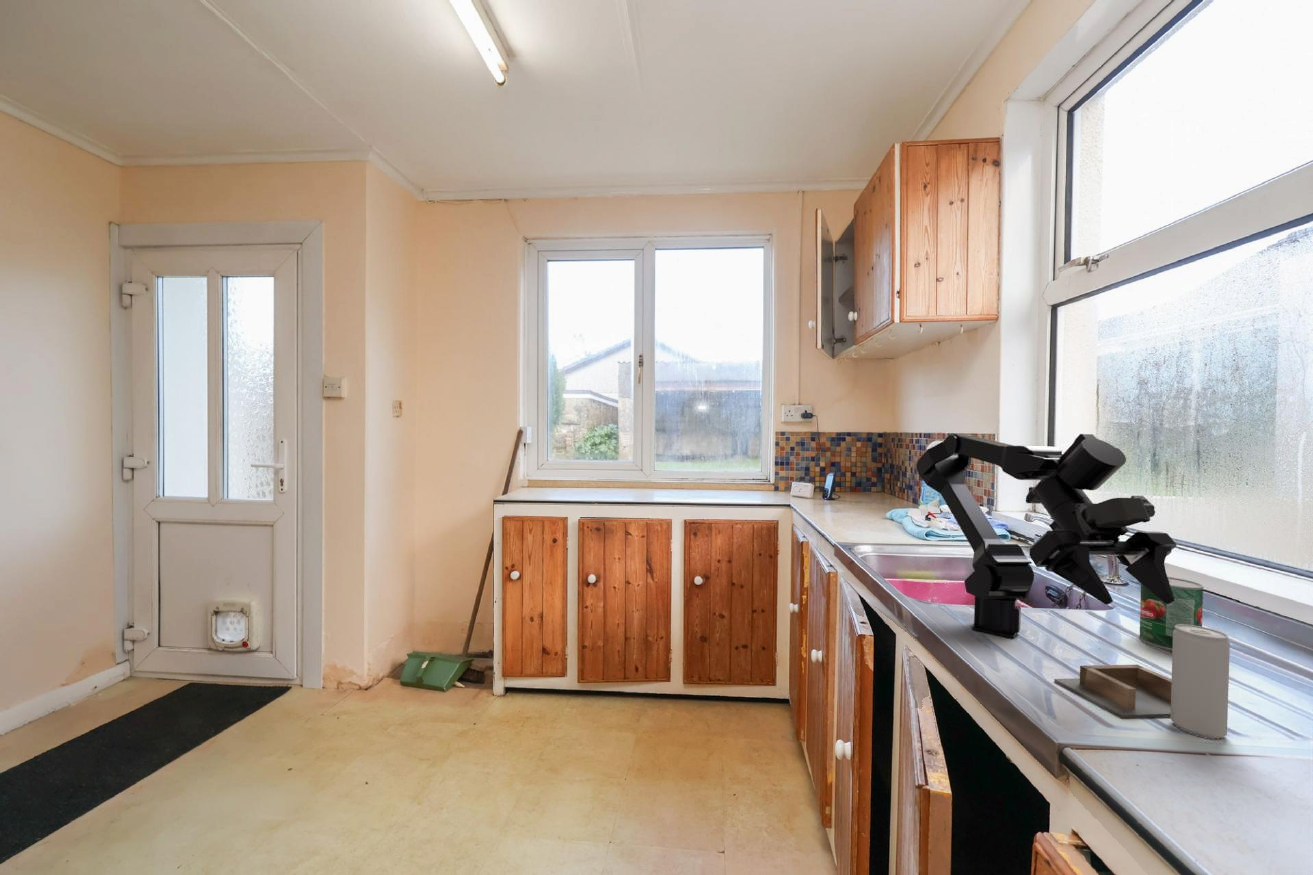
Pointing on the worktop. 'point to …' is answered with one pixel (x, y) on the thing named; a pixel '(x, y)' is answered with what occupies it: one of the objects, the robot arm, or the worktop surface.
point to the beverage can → (1200, 680)
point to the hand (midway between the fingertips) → (1140, 603)
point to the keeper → (1123, 690)
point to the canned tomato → (1169, 612)
